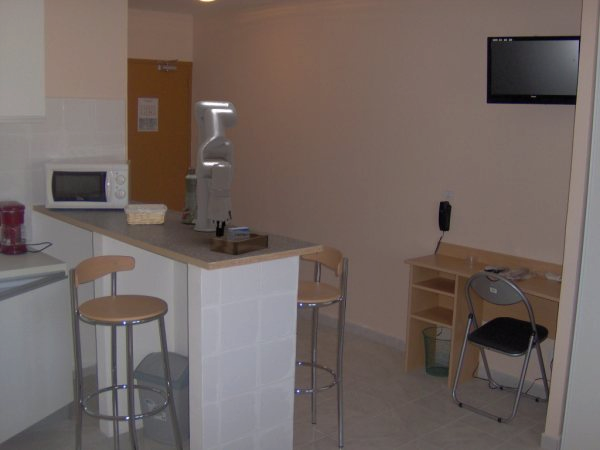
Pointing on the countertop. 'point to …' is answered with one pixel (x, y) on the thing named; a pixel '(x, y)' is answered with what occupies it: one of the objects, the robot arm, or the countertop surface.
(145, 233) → the countertop surface
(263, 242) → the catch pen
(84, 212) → the countertop surface
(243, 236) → the medicine box
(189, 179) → the bottle
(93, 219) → the countertop surface
